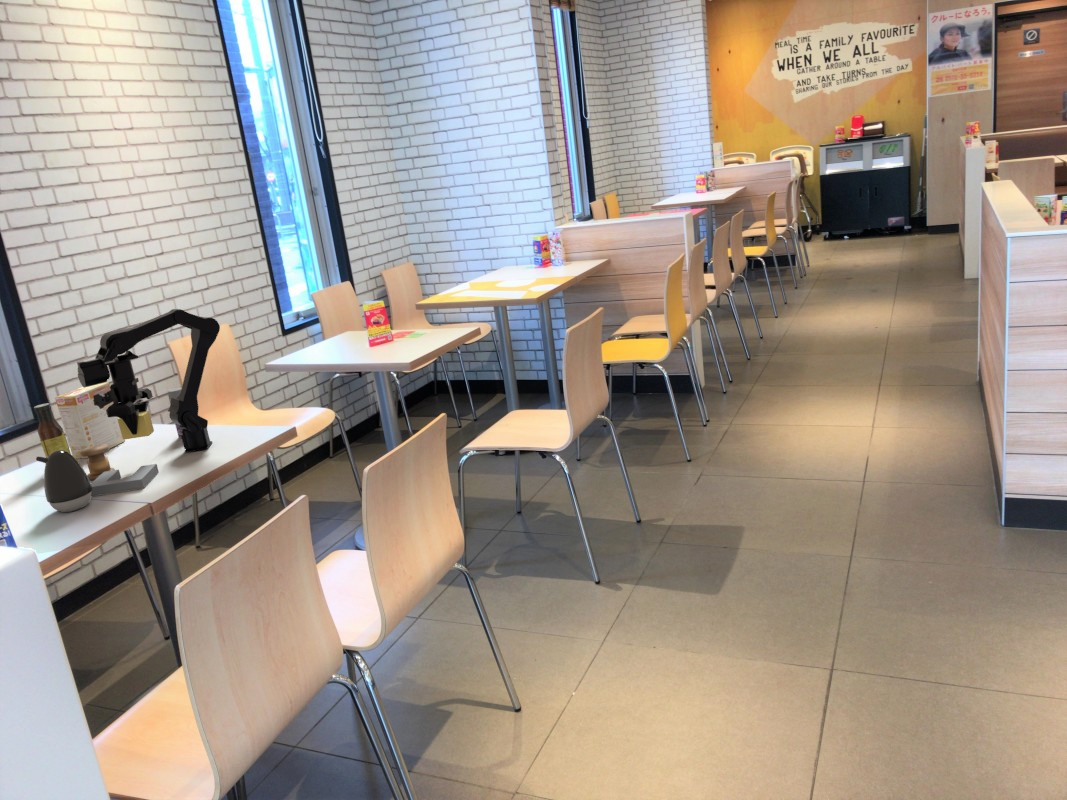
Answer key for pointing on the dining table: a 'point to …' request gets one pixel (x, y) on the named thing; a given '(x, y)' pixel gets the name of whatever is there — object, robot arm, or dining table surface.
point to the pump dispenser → (65, 482)
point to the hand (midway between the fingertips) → (137, 431)
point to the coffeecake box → (87, 419)
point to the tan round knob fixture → (96, 460)
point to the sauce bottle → (50, 431)
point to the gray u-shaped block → (123, 480)
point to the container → (172, 394)
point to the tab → (143, 426)
